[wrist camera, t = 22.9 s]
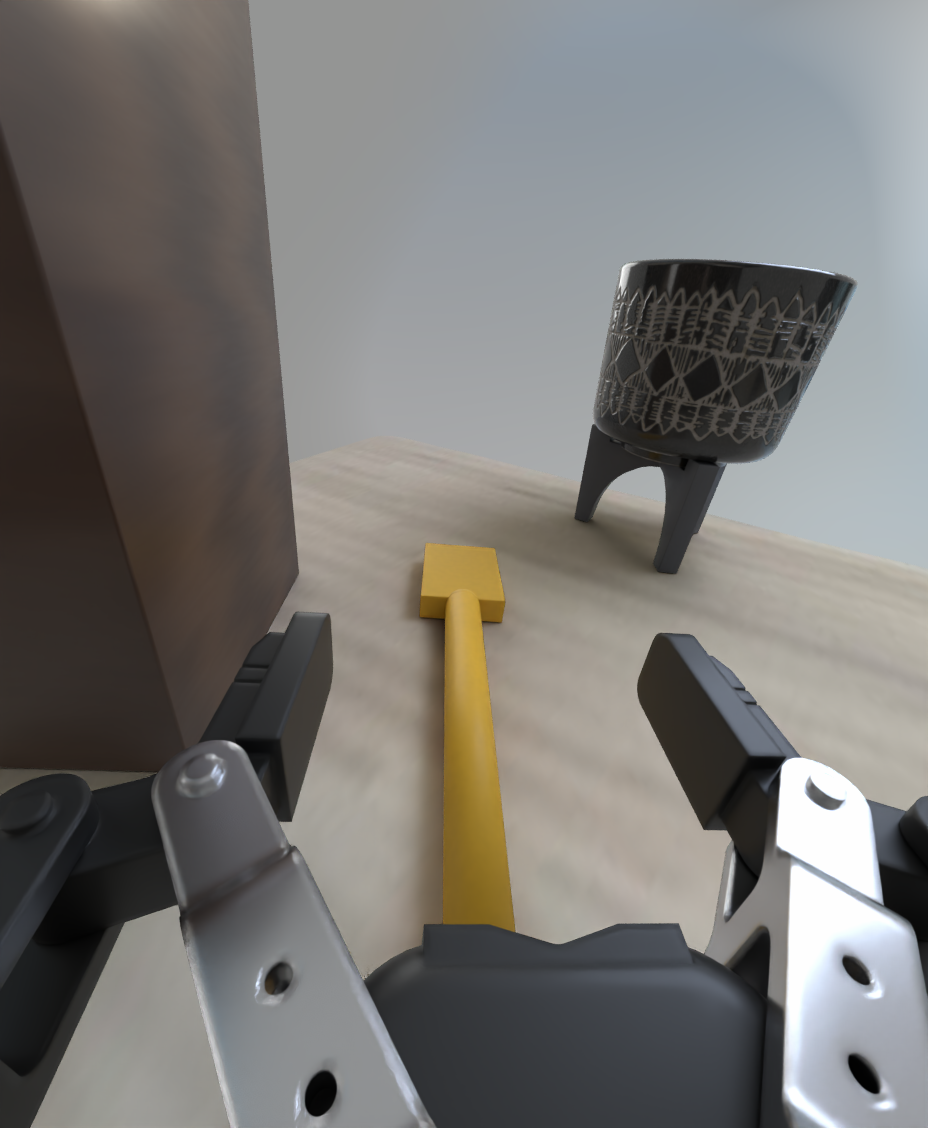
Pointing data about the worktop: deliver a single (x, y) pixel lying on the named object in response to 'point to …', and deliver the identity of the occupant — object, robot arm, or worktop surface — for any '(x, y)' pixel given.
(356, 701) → the worktop surface
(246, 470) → the stand
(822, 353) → the planter
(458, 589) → the hammer
